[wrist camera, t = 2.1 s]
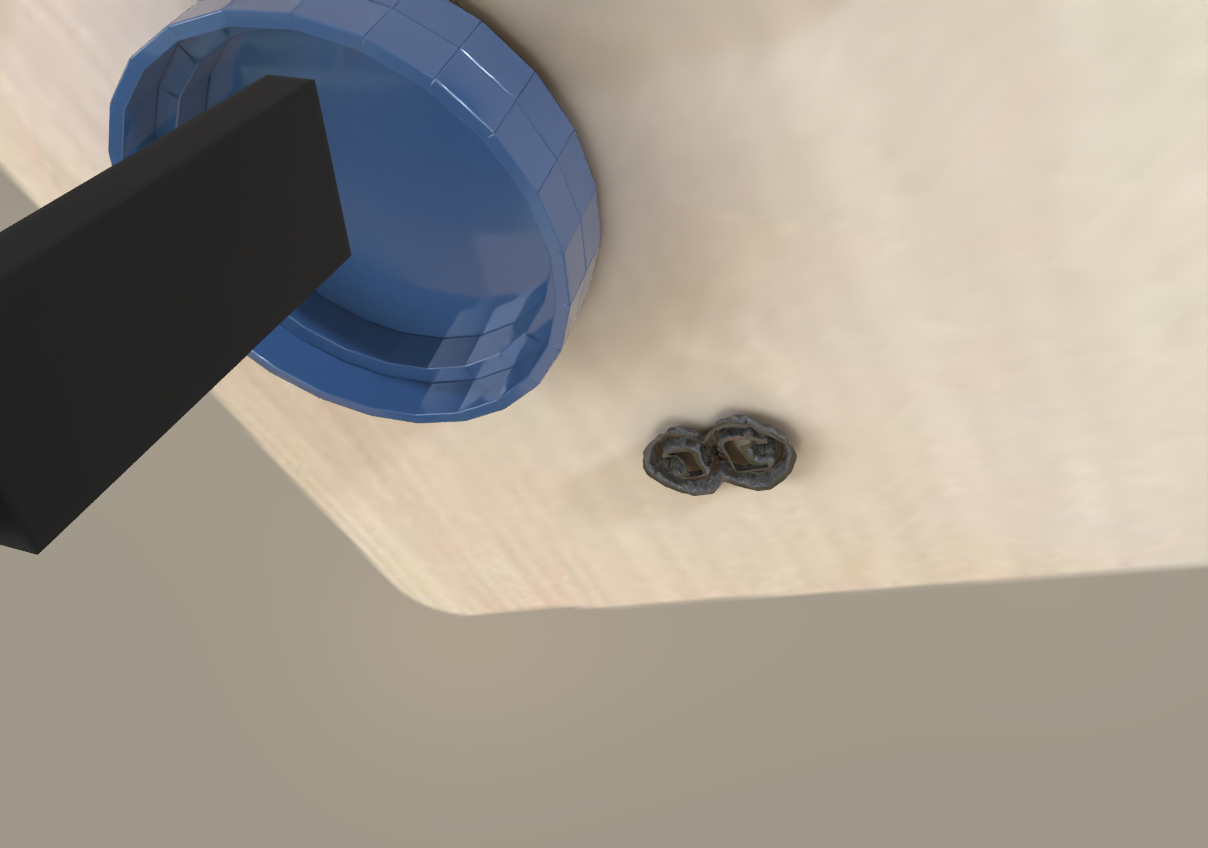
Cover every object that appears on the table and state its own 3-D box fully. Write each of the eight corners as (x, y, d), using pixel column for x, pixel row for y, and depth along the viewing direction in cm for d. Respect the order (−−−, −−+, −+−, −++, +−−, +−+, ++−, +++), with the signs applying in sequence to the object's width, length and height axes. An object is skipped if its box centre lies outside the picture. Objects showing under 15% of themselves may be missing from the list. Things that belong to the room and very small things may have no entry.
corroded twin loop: (628, 423, 47) (623, 438, 46) (778, 399, 43) (775, 415, 42) (668, 488, 50) (664, 503, 49) (813, 471, 46) (810, 487, 45)
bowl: (100, 89, 41) (23, 148, 38) (392, -160, 30) (320, -107, 27) (388, 390, 51) (347, 457, 47) (688, 283, 40) (661, 361, 37)
